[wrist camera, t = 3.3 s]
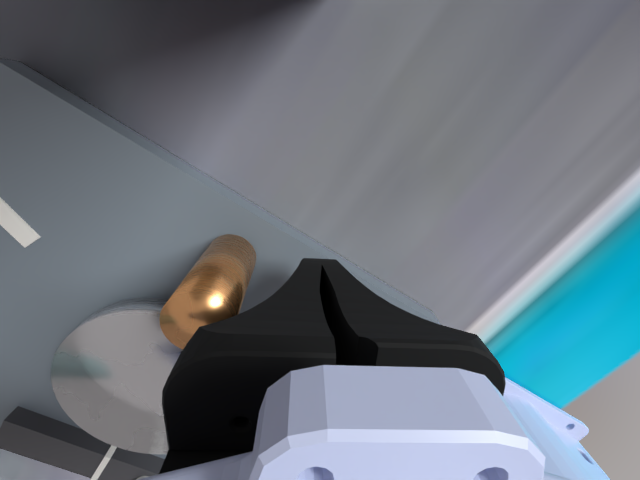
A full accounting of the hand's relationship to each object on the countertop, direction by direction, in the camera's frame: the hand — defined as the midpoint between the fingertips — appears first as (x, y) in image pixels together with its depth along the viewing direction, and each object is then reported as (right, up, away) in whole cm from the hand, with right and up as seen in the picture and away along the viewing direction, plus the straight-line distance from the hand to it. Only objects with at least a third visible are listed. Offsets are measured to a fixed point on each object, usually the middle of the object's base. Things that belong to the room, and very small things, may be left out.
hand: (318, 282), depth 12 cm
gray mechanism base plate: (-8, -4, +4) cm, 10 cm away
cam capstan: (-6, -3, +2) cm, 7 cm away
